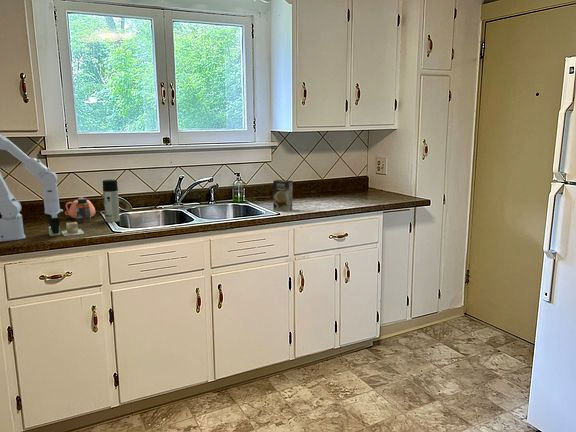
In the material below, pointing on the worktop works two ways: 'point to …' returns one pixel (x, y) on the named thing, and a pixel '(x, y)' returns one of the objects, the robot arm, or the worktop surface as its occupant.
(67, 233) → the baseplate
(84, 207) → the supplement bottle
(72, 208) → the sugar bowl
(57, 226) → the robot arm
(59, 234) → the sage brick
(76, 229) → the beech brick
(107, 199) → the spray can
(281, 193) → the coffee box
